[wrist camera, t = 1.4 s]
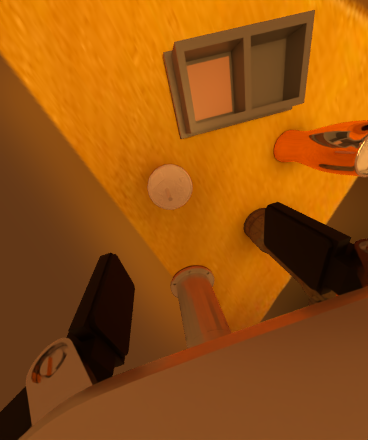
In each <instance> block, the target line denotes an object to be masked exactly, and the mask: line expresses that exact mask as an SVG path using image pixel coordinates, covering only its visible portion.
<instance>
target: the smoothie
mask: <svg viewBox="0 0 368 440" xmlns="http://www.w3.org/2000/svg"><path fill="white" fill-rule="evenodd" d="M148 192H149V196H150V198H151V200H152V201H153V202H154V203H155V204H156V205H157V206H159V207H161V208H163V209H169V210H171V209H177V208H179V207H181V206H183V205H184V204H185V203H186V202H187V201H188V200H189V198H190V196H191V194H192V181H191V179H190V177H189V175H188V173H187V172H186V171H185V170H184V169H183V168H181V167H179V166H177V165H172V164H169V165H163V166H161V167H158V168H157V169H156V170H154V172H153V173H152V174H151V176H150V178H149V181H148Z"/></svg>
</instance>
